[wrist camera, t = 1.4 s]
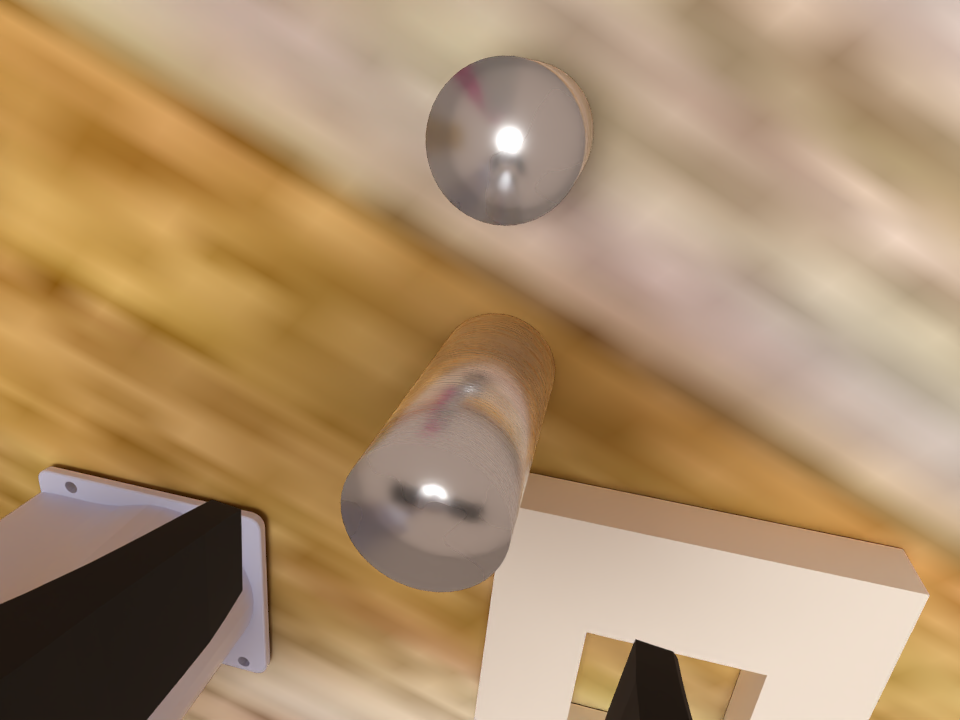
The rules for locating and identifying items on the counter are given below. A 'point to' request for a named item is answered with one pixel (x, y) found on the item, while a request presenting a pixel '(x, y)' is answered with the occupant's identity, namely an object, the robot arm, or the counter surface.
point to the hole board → (692, 604)
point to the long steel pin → (453, 459)
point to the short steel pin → (508, 139)
